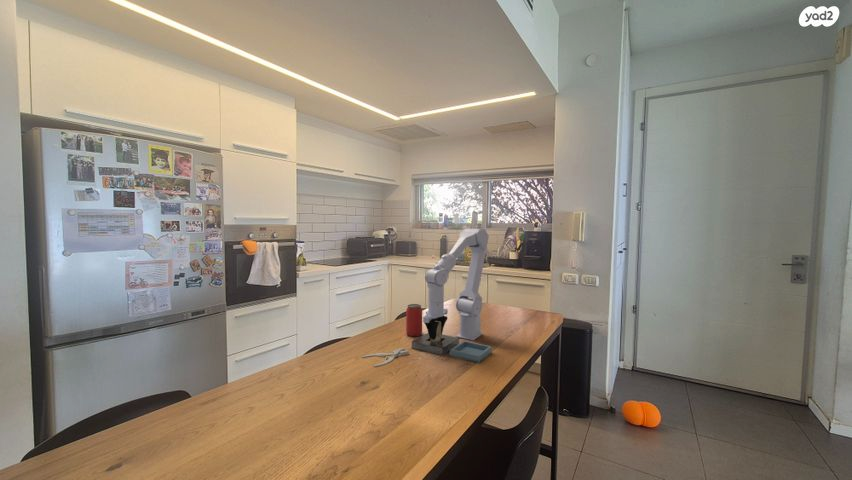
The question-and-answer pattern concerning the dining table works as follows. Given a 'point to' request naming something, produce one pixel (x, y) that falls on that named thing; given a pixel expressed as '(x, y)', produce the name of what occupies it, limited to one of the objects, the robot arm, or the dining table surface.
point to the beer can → (414, 320)
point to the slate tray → (471, 351)
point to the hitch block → (435, 344)
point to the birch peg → (437, 334)
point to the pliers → (395, 353)
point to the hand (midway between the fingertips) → (435, 337)
